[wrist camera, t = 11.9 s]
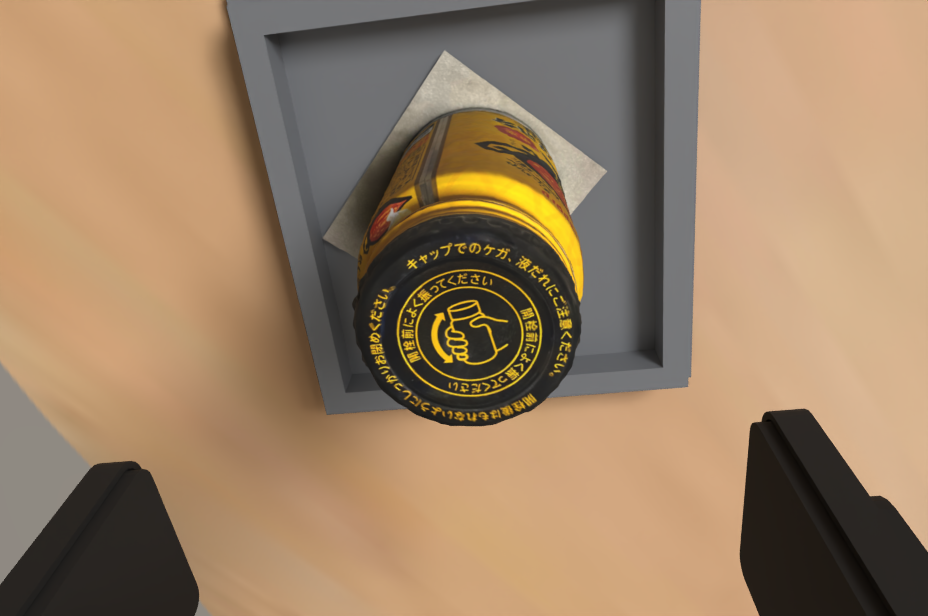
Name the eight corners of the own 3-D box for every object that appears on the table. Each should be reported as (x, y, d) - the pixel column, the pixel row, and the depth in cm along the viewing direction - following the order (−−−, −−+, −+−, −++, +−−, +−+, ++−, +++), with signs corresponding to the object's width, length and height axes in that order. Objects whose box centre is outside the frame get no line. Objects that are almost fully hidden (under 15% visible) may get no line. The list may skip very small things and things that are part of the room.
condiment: (606, 169, 26) (687, 311, 15) (474, 332, 29) (461, 546, 18) (444, 49, 24) (402, 110, 13) (324, 235, 27) (211, 406, 16)
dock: (230, -11, 24) (207, -9, 22) (697, -74, 23) (715, -78, 21) (328, 398, 31) (317, 425, 30) (687, 369, 30) (700, 396, 28)
